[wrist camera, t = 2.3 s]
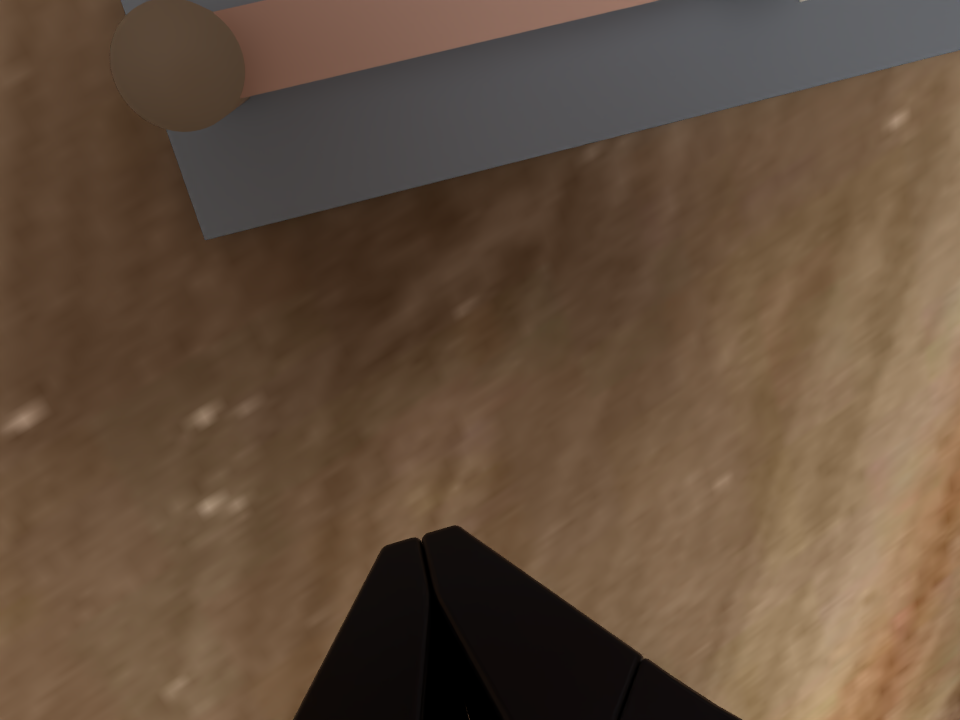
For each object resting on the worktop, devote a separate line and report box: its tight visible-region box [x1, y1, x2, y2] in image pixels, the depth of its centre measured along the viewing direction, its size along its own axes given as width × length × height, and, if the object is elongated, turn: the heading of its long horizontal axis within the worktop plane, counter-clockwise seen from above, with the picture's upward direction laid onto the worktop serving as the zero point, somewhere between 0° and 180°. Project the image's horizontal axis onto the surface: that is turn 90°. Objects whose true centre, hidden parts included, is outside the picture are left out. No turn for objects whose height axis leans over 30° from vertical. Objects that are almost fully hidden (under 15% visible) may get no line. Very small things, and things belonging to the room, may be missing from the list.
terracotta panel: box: [110, 0, 658, 132], centre depth 13 cm, size 10×2×4 cm, turn 102°
